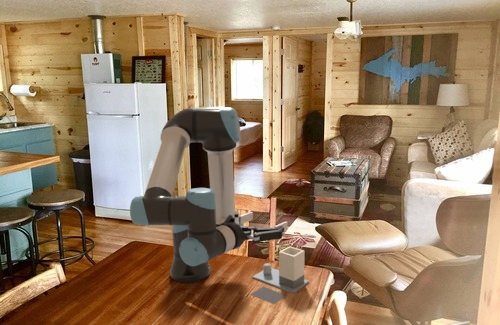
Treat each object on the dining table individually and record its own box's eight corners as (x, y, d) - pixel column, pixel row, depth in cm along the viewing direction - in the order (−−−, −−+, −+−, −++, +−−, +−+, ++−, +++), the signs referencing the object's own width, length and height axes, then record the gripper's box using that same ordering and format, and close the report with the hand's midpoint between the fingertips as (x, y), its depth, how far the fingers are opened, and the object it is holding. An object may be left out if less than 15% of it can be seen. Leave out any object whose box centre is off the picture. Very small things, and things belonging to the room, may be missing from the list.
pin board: (252, 279, 153) (252, 267, 153) (269, 269, 161) (269, 258, 160) (293, 295, 142) (293, 282, 141) (308, 283, 149) (309, 271, 148)
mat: (250, 295, 142) (250, 294, 142) (263, 287, 147) (263, 286, 147) (273, 305, 136) (273, 304, 135) (286, 297, 141) (286, 295, 141)
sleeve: (279, 283, 148) (279, 251, 145) (289, 276, 152) (289, 246, 150) (294, 289, 144) (294, 256, 141) (304, 282, 148) (304, 250, 146)
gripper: (194, 239, 126) (238, 222, 142) (261, 263, 111) (301, 241, 128) (195, 215, 124) (239, 201, 141) (262, 236, 110) (303, 218, 127)
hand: (268, 220), depth 135 cm, fingers open, 13 cm apart
